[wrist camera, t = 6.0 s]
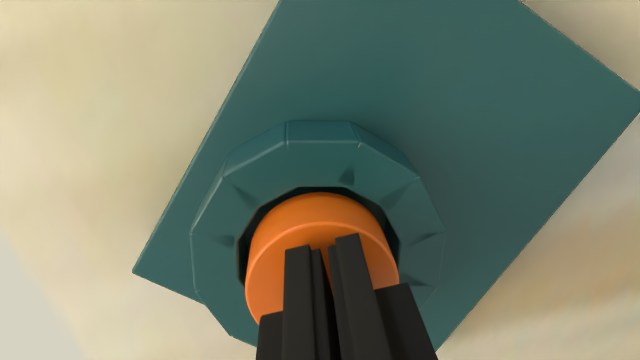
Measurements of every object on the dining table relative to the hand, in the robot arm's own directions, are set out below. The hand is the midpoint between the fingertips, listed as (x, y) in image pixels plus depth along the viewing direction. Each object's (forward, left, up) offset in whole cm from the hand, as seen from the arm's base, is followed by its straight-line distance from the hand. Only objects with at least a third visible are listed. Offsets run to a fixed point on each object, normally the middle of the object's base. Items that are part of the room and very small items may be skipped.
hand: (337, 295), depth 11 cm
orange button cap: (0, 0, -2) cm, 2 cm away
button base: (-2, +1, -6) cm, 6 cm away
